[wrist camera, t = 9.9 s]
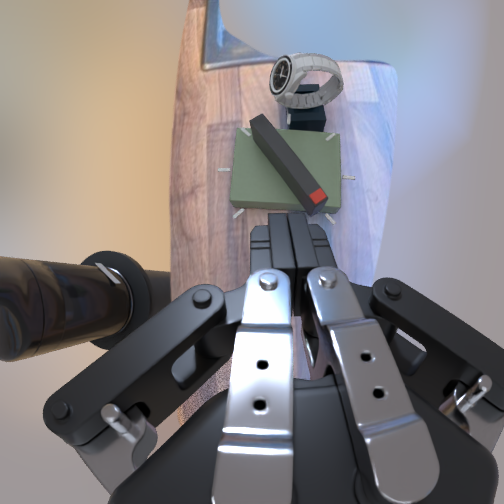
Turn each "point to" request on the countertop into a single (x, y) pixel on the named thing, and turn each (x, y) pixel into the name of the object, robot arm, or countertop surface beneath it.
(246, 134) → the dial panel
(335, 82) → the watch
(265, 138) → the pointer
